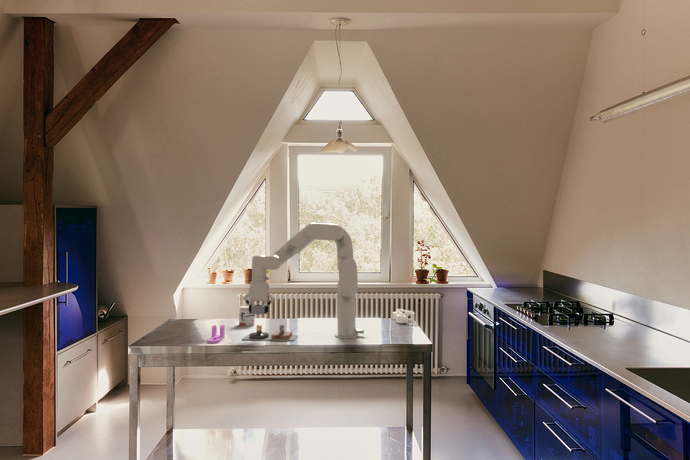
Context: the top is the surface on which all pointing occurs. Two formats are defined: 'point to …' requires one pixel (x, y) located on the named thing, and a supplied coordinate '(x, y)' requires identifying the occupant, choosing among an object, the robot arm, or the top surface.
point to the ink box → (245, 316)
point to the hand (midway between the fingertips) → (258, 313)
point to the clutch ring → (258, 309)
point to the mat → (271, 339)
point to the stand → (281, 334)
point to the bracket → (215, 337)
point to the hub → (259, 334)
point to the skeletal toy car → (403, 316)
